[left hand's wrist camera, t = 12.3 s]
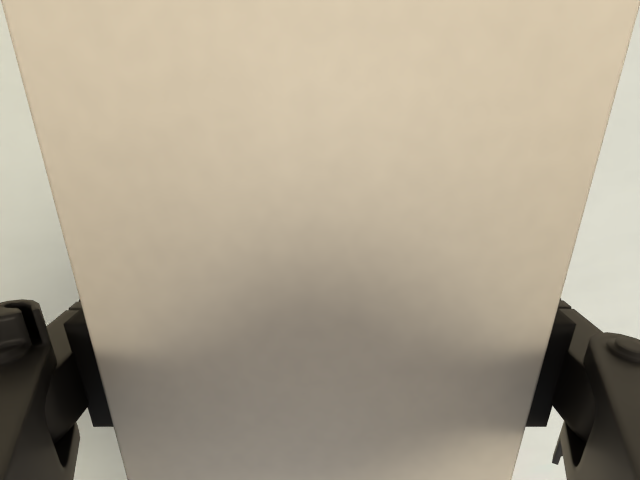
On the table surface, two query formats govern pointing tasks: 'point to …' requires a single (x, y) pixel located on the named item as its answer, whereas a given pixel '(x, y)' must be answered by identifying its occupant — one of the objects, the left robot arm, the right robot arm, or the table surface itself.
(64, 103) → the wide beam
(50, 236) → the table surface
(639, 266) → the table surface
